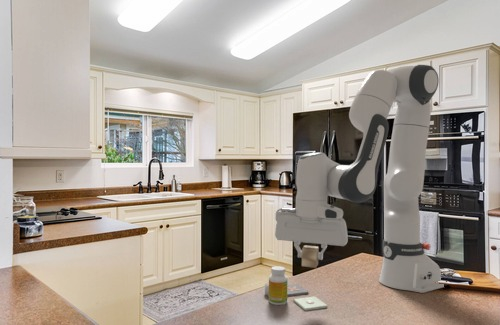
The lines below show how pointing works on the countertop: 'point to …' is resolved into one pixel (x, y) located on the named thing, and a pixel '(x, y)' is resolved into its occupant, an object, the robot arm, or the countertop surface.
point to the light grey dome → (267, 289)
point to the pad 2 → (310, 303)
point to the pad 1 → (295, 290)
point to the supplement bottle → (278, 286)
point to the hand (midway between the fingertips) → (310, 258)
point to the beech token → (310, 256)
